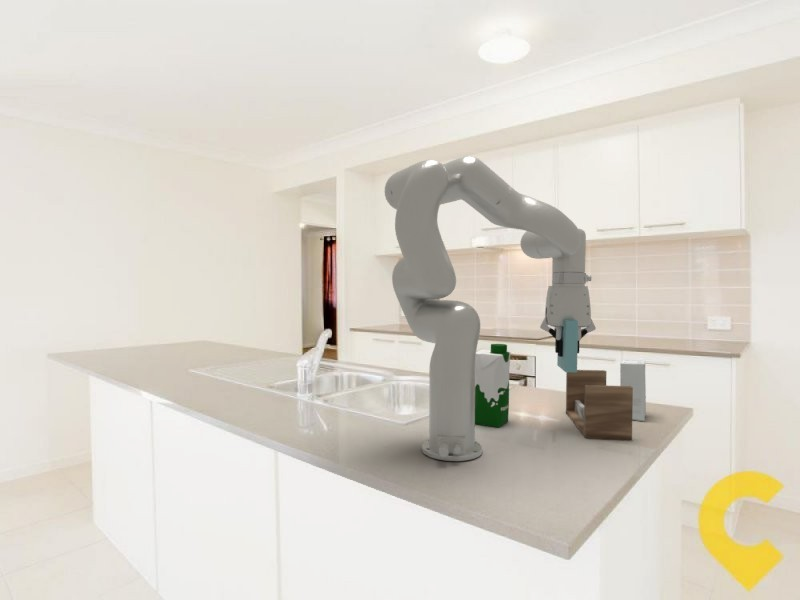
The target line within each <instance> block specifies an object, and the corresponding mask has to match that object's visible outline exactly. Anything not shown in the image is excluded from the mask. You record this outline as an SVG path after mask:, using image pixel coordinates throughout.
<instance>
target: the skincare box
mask: <svg viewBox="0 0 800 600" xmlns="http://www.w3.org/2000/svg"><path fill="white" fill-rule="evenodd" d="M619 365H620V368H619V369H620V379H619V380H620V385H619V386H631V387H633V408H632V421H637V422H645V421H646V418H645V417H646V416H647V415H646V414H647V406H646V404H647V399H646V398H647V397H646V396H647V395H646V391H647V389H646V385H647V384H646V360H634V359H633V360H632V359H631V360H630V359H623V360H621V361H620V364H619Z"/></svg>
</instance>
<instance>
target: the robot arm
mask: <svg viewBox="0 0 800 600" xmlns="http://www.w3.org/2000/svg"><path fill="white" fill-rule="evenodd" d="M384 197H385V200H386V201H387V203H388V204H389V206H390V207H392V208H393V209H395V211H396V213H395V217H394V219H395V220H394V221H395V222H394V230H395V236H396V240H397V243H398V246H399V249H400V251H401V255H402V258H401V259H399V260H398V261H397V262H396V263H395V265H394V267H393V270H392V274H391V283H392V288H393V291H394V293H395V295H396V298H397V300H398V303H399V306H400V308H401V311H402V312H403V315H404V317H405V319H406V322H407V324H408V326H409V328H410V330H411V332H412V334H414V335H415V336H416V338H418V339H419V340H421V341H424V342H427V343H432V344H434V347H433V350H432V353H431V357H430V360H429V369H428V370H429V373H428V374H429V376H428V377H429V387H428V388H429V395H428V396H429V408H428V409H429V411H428V412H429V413H428V414H429V415H428V416H429V417H428V419H429V420H428V421H429V422H428V423H429V424H428V425H429V427H428V429H429V430H428V431H429V433H428V434H429V436H428V439H426V440H425V441H423V442H422V443H421V451H422V454H424V455H425V456H427V457H429V458H431V459H435V460H439V461H446V462H465V461H470V460H474V459H477V458H478V457H480V456H481V455H482V453H483V446H482V445H481V443H479V442H478V441H476V424H475V360H476V352H477V348H478V343H479V339H480V333H481V320H480V316H479V314H478V312H477V310H476V309H475V308H474V307H473V306H471V304H469V303H466V302H464V301H461V300H460V301H459V300H449V299H448V300H447V299H446V300H445V299H444V298H446V297H449V296H450V295H451V294H452V293H453V292H454V291H455V289H456V285H457V276H456V272H455V270H454V269H455V268H454V266H453V264H452V261H451V259H450V256H449V254H448V251H447V249H446V248H447V247H446V246H445V243H444V241H443V239H442V236H441V232H440V230H439V229H440V228H439V224H438V223H439V222H438V213H439V209H440V207H441V205H445V204H448V203H453V202H456V201H460V200H461V201H464V202H465V203H466V204H467V205H469V207H472V209H474V210H475V211H476V212H478V213H479V214H480V215H481V216H483V217H484V218H485V219H487V221H488V222H490V223H491V224H494V225H496V226H500V227H502V228H507V229H514V230H521V231H525V232H524V233H523V234H522V236H521V239H520V249H521V250H522V252H523V253H524V254H525V255H526V256H527V257H529V258H531V259H538V260H540V259H541V260H542V259H551V258H552V259H551V262H552V267H551V268H552V269H551V270H552V271H551V273H552V276H551V277H552V278H551V279H552V280H551V285H548V287H547V291H546V298H545V306H544V307H545V309H544V317H543V320H542V322H541V324H540V326H539V328H540V329H541V330H542V331H545V332H547V333H549V334H550V335H551V336H552V337H553V338H554V339H555V341H554V343H555V345H554V349H555V353H556V354H557V357H558V356H559V357H562V356H563V341H562V337H561V332H562V327H563V326H564V320H577V321H578V349H577V354H580V341H581V340H582V339H583V338H584V337H585V336H586V335H587V334H589V333H591V332H594V331H596V329H597V327H596V326H595V323H594V322H593V319H592V310H591V297H590V292H589V291H590V290H589V287H588V286H587V285H586V283H588V282H591V281H592V275H588V274H587V273H586V256H587V255H586V250H587V249H586V248H587V247H586V246H587V245H586V244H587V242H586V241H587V236H586V235H587V234H586V231H585V230H583V229H582V228H578V227H577V225H576V223H574V222H573V221H572V220H571V219H570V218H569V217H568V216H567V215H566V214H565V213H564V212H562V211H561V210H560V209H558V208H557V207H555V206H553V205H552V204H549V203H547V202H543V201H541V200H540V199H536V198H534V197H532V196H528V195H526V194H522V193H520V192H518V191H517V190H515V189H514V188H513V187H512V186H511V185H510V184H508V183H507V182H506V180H505V179H503V178H502V177H500V176H499V175H498V174H497V173H496V172H495V171H494V170H493V169H491V168H490V167H489V166H488V165H487V164H485V163H484V161H482V160H480V158H478V157H475V156H472V155H465V156H462V157H458V158H456V159H453V160H451V161H448V162H446V163H444V164H442V162H440V161H438V160H435V159H428V160H427V159H426V160H421V161H418V162H416V163H414V164H412V165H410V166H408V167H405V168H403V169H401V170H399V171H396V172H395V173H393V174H391V176H389V178H388V179H387V181H386V183H385V186H384ZM552 327H553V328H552Z"/></svg>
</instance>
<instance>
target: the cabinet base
mask: <svg viewBox="0 0 800 600" xmlns="http://www.w3.org/2000/svg"><path fill="white" fill-rule="evenodd" d="M565 373H566V374H565V375H566V376H565V377H566V378H565V380H566V382H565V384H566V385H565V414H566V415H567V417H568V418H569V417H570V418H569V419H570V420H571V422H572V421H573V424H574V425H575V427H576V426H577V427H576V428H577V430H578V431H579V430H580V431H579V432H580V433H581V434H582V436H583V437H584V438H585V439H587V438H588V439H589V440H609V441H610V440H613V441H614V440H615V441H631V440H632V441H633V420H632V408H633V387H631V386H621V385H607V370H605V369H603V370H600V369H595V370H594V369H577V373H575V372H565ZM588 439H587V440H588Z"/></svg>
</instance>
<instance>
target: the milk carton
mask: <svg viewBox="0 0 800 600" xmlns="http://www.w3.org/2000/svg"><path fill="white" fill-rule="evenodd" d="M510 363H511V351H508V345H507V344H504V343H491V344H490V350H489V349H481V350H480V349H479V350H476V360H475V425H480V426H486V427H487V426H488V427H490V428H491V427H493V428H498V429H499V428H501V427H502V426H503V425H505V424H506V423H507V422H508V421H509V411H510V410H509V409H510Z"/></svg>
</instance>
